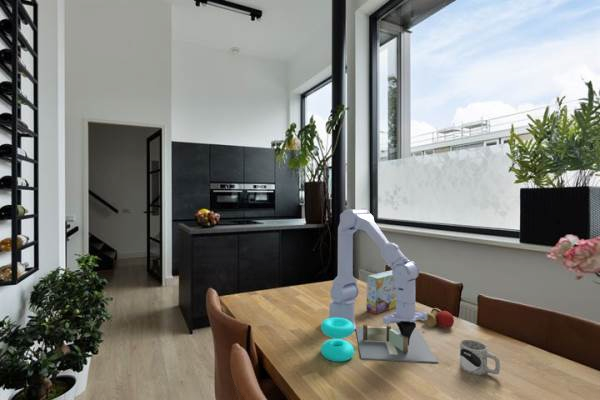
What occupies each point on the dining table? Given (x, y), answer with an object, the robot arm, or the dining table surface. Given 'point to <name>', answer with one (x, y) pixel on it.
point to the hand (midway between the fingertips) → (405, 344)
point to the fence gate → (398, 340)
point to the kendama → (439, 318)
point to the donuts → (337, 347)
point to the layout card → (396, 349)
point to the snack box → (381, 292)
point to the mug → (476, 358)
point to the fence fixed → (376, 333)
